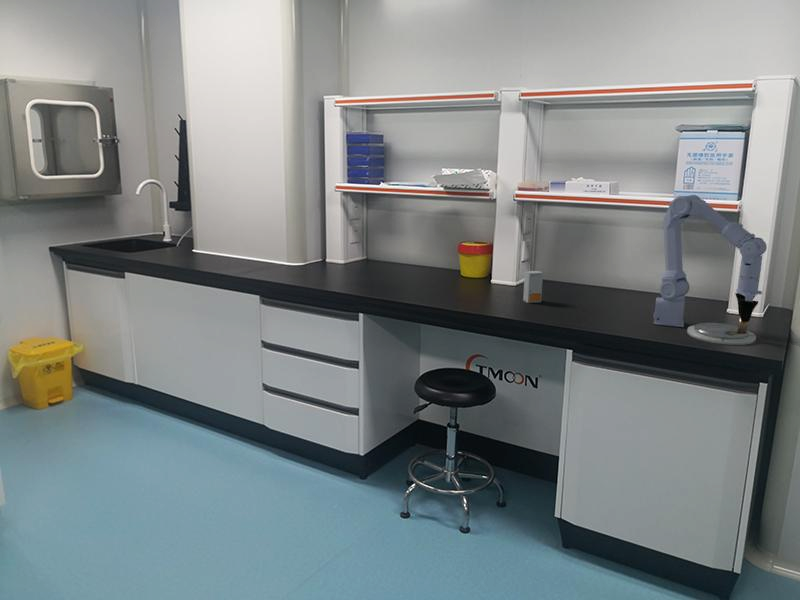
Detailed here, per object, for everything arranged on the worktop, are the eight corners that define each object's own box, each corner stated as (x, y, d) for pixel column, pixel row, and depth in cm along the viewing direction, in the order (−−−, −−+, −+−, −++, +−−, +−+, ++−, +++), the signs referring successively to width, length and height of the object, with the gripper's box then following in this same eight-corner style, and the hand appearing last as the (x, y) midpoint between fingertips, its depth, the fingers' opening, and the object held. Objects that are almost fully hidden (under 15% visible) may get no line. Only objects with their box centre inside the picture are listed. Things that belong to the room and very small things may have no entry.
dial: (688, 332, 207) (690, 315, 206) (700, 322, 220) (702, 306, 218) (743, 341, 198) (746, 323, 197) (753, 330, 210) (755, 313, 209)
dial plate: (687, 340, 204) (688, 336, 204) (686, 325, 222) (687, 321, 222) (759, 348, 196) (759, 344, 196) (752, 331, 214) (752, 327, 214)
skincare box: (527, 303, 253) (529, 273, 250) (522, 300, 257) (524, 271, 254) (541, 302, 254) (543, 272, 251) (536, 299, 258) (538, 270, 255)
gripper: (766, 282, 194) (760, 325, 197) (761, 273, 207) (755, 314, 210) (740, 280, 197) (734, 323, 200) (736, 272, 210) (731, 312, 213)
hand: (743, 318), depth 205 cm, fingers open, 7 cm apart
